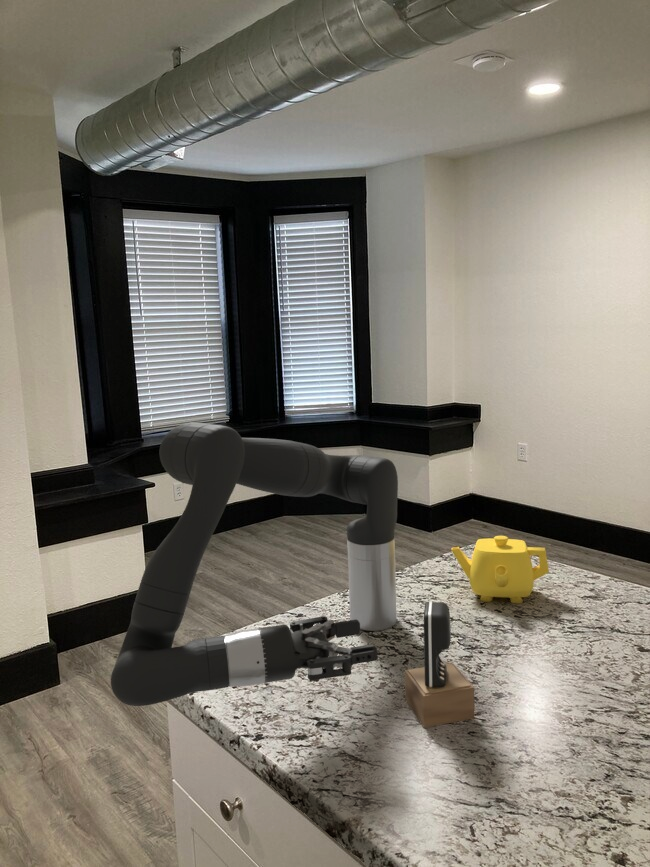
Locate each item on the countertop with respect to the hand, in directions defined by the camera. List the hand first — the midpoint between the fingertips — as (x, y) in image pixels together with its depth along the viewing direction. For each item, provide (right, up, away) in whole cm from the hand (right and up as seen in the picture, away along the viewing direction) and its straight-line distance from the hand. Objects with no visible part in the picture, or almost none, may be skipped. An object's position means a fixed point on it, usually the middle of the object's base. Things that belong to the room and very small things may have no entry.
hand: (367, 638), depth 104 cm
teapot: (+31, -5, +46) cm, 55 cm away
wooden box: (+11, -12, +5) cm, 17 cm away
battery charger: (+11, -7, +3) cm, 14 cm away
